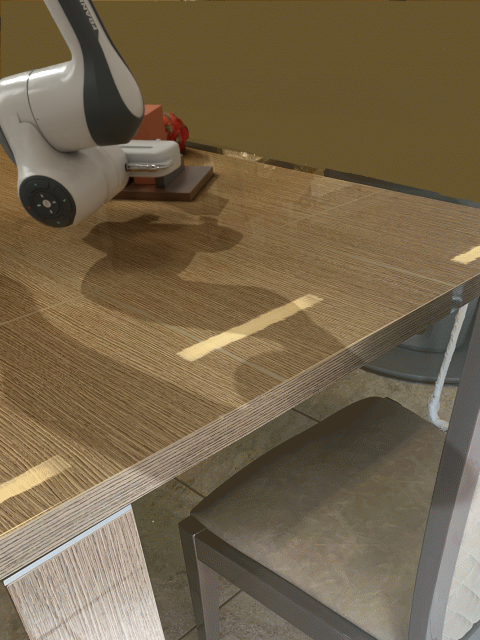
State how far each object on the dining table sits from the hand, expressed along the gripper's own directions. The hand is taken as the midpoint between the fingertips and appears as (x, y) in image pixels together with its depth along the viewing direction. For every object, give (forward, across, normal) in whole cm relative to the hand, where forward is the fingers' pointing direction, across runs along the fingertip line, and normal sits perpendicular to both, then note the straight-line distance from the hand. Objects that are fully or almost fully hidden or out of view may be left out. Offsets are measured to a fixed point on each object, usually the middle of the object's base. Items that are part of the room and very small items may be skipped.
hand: (129, 143), depth 103 cm
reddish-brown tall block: (+8, 0, +8) cm, 11 cm away
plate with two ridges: (+8, 0, +9) cm, 12 cm away
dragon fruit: (+30, +4, +9) cm, 31 cm away
